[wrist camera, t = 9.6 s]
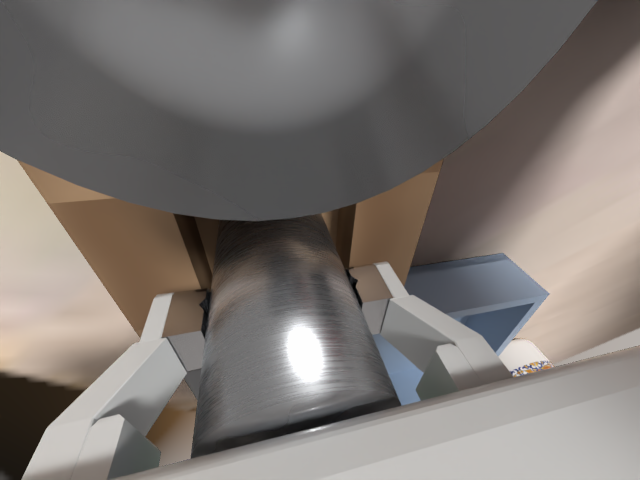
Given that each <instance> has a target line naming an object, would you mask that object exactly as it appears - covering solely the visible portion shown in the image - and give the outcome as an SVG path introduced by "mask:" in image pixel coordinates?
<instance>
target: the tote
mask: <svg viewBox="0 0 640 480" xmlns="http://www.w3.org/2000/svg"><path fill="white" fill-rule="evenodd" d="M404 288H405V289H406V291H407V293H408V294H409V295H414V296H416V297H418V298H419V299H421V300H423V301H424V302H426V303H428V304H429V305H431V306H433V307H435V308H436V309H438V310H440V311H441V312H443V313H445V314H446V315H448V316H450V317H451V318H453V319H455V320H456V321H458V322H460V323H461V324H463V325H465V326H467V327H468V328H470V329H472V330H473V331H475V332H477V333H478V334H480V335H482V336H483V338H484V339H485V340H486V342H487V343H488V344H489V345H490V347H491V348H492V349H493V351H494V352H495V353H496V355H497V356H499V355H500V354H501V353H502V352H503V350H504V349H505V348H506V347H507V345H508V344H509V343H510V342H511V340H512V339H513V338H514V337H515V336H516V334H517V333H518V332H519V331H520V329H521V328H522V327H523V326H524V325H525V323H526V322H527V321H528V320H529V318H530V317H531V316H532V315H533V314H534V312H535V311H536V310H537V309H538V307H539V306H540V305H541V304H542V303H543V301H544V300H545V299H546V298H547V296H548V295H549V293H548V292H547V291H546V290H545V289H543V288H542V287H541V286H540V285H539V284H538V283H537V282H535V281H534V280H533V279H532V278H531V277H530V276H529V275H527V274H526V273H525V272H524V271H523V270H522V269H521V268H519V267H518V266H517V265H516V264H515V263H514V262H513V261H511V260H510V259H509V258H508V257H507V256H506V255H505V254H503V253H501V254H494V255H488V256H481V257H475V258H468V259H461V260H455V261H448V262H441V263H435V264H428V265H421V266H415V267H410V269H409V272H408V275H407V279H406V282H405V285H404ZM380 334H381V333H379V334H374V335H372V336H373V338H374V341H375V343H376V345H377V348H378V350H379V353H380V355H381V357H382V360H383V362H384V365H385V367H386V369H387V372H388V374H389V376H390V379H391V381H392V384H393V386H394V388H395V391H396V393H397V396H398V398H399V400H400V403H401V406H402V405H406V404H410V403H414V402H418V401H420V398H419V396H418V394H417V392H416V387H417V385H418V383H419V381H420V379H421V377H422V375H423V372H422V371H421V370H420V369H418V368H417V367H416V366H415V365H414V364H413V363H412V362H411V361H409V360H408V359H407V358H406V357H405V356H404V355H403V354H402V353H400V352H399V351H398V350H397V349H396V348H395V347H394V346H393V345H391V344H390V343H389V342H388V341H387V340H386V339H385V338H384V337H382V336H381V335H380Z"/></svg>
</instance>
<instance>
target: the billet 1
mask: <svg viewBox="0 0 640 480" xmlns="http://www.w3.org/2000/svg"><path fill="white" fill-rule="evenodd" d="M597 1H598V0H0V151H1V152H3V153H5V154H7V155H9V156H11V157H13V158H15V159H17V160H19V161H21V162H24V163H26V164H28V165H31V166H33V167H35V168H38V169H40V170H42V171H45V172H47V173H49V174H52V175H54V176H57V177H59V178H61V179H64V180H66V181H68V182H71V183H73V184H75V185H78V186H81V187H84V188H87V189H90V190H93V191H96V192H99V193H102V194H105V195H108V196H111V197H114V198H117V199H120V200H123V201H126V202H129V203H133V204H137V205H141V206H145V207H149V208H154V209H158V210H162V211H166V212H170V213H174V214H181V215H188V216H195V217H202V218H209V219H217V220H242V221H263V220H278V219H292V218H297V217H303V216H308V215H314V214H320V213H325V212H329V211H332V210H336V209H339V208H342V207H346V206H349V205H353V204H356V203H359V202H362V201H364V200H366V199H369V198H371V197H374V196H376V195H378V194H381V193H383V192H386V191H388V190H391V189H392V188H394V187H396V186H398V185H400V184H402V183H404V182H405V181H407V180H409V179H411V178H413V177H415V176H417V175H418V174H420V173H422V172H424V171H425V170H427V169H428V168H430V167H431V166H433V165H434V164H436V163H437V162H439V161H440V160H442V159H443V158H445V157H446V156H448V155H449V154H451V153H452V152H454V151H455V150H456V149H457V148H459V147H460V146H461V145H462V144H464V143H465V142H466V141H467V140H469V139H470V138H471V137H472V136H473V135H475V134H476V133H477V132H478V131H480V130H481V129H482V128H483V127H485V126H486V125H487V124H488V123H489V122H490V121H491V120H492V119H493V118H494V117H496V116H497V115H498V114H499V113H500V112H501V111H502V110H503V109H504V108H505V107H506V106H507V105H508V104H509V103H510V102H511V101H512V100H513V99H514V98H515V97H516V96H517V95H519V94H520V93H521V92H522V91H523V90H524V88H525V87H526V86H527V85H528V84H529V83H530V82H531V81H532V79H533V78H534V77H535V76H536V75H537V74H538V73H539V72H540V71H541V69H542V68H543V67H544V66H545V65H546V64H547V63H548V62H549V61H550V59H551V58H552V57H553V56H554V55H555V54H556V53H557V52H558V51H559V49H560V48H561V47H562V45H563V44H564V43H565V42H566V40H567V39H568V38H569V37H570V35H571V34H572V33H573V31H574V30H575V29H576V28H577V26H578V25H579V24H580V22H581V21H582V20H583V19H584V17H585V16H586V15H587V14H588V12H589V11H590V10H591V8H592V7H593V6H594V5H595V3H596V2H597Z"/></svg>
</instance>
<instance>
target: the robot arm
mask: <svg viewBox="0 0 640 480" xmlns="http://www.w3.org/2000/svg"><path fill="white" fill-rule="evenodd" d="M345 271H346V274H347V276H348V278H349V281H350V283H351V286H352V288H353V290H354V293H355V295H356V298H357V300H358V302H359V305H360V307H361V310H362V312H363V314H364V317H365V319H366V321H367V324H368V326H369V329H370V331H371V333H372V335H374V334H379V333H381V334H380V335H381V336H382V337H384V338H385V339H386V340H387V341H388V342H389V343H390V344H391V345H393V346H394V347H395V348H396V349H397V350H398V351H399V352H400V353H402V354H403V355H404V356H405V357H406V358H407V359H408V360H409V361H411V362H412V363H413V364H414V365H415V366H416V367H417V368H418V369H420V370H421V371H422V372H423V375H422V377H421V379H420V381H419V383H418V385H417V387H416V392H417V394H418V396H419V398H420V401H418V402H414V403H410V404H406V405H402V406H398V407H394V408H390V409H386V410H382V411H378V412H374V413H370V414H366V415H362V416H359V417H355V418H351V419H347V420H343V421H339V422H335V423H331V424H327V425H323V426H319V427H315V428H311V429H307V430H303V431H299V432H295V433H291V434H287V435H283V436H279V437H275V438H272V439H268V440H264V441H260V442H256V443H252V444H248V445H244V446H240V447H236V448H232V449H228V450H224V451H220V452H216V453H212V454H208V455H204V456H200V457H196V458H192V459H189V460H185V461H181V462H177V463H173V464H169V465H165V466H161V467H158V466H159V461H160V455H161V452H160V450H159V449H158V448H157V447H156V446H155V445H154V444H153V443H152V442H150V441H149V440H148V439H147V438H146V437H145V436H146V435H147V433H148V431H149V430H150V429H151V427H152V425H153V424H154V422H155V421H156V419H157V418H158V416H159V415H160V413H161V412H162V410H163V409H164V407H165V406H166V404H167V403H168V401H169V400H170V398H171V397H172V395H173V394H174V392H175V391H176V389H177V388H178V386H179V384H180V383H181V381H182V380H183V378H184V377H185V375H186V374H187V371H191V370H195V369H200V368H202V360H203V352H204V343H205V335H206V327H207V318H208V310H209V302H210V293H211V290H210V289H209V288H205V289H196V290H188V291H180V292H175V293H166V294H158V295H156V297H155V298H154V299H153V302H152V305H151V308H150V311H149V314H148V317H147V320H146V323H145V326H144V329H143V332H142V335H141V338H140V341H139V342H138V343H133V344H132V345H131V346H130V347H129V348H128V349H127V350H126V351H125V352H124V353H123V354H122V355H121V356H120V357H119V358H118V359H117V360H116V361H115V362H114V363H113V364H112V365H111V366H110V367H109V368H108V369H107V370H106V371H105V372H104V373H103V374H102V375H101V376H100V377H99V378H98V379H96V380H95V381H94V382H93V383H92V384H91V385H90V386H89V387H88V388H87V389H86V390H85V391H84V392H83V393H82V394H81V395H80V396H79V397H78V398H77V399H76V400H75V401H74V402H73V403H72V404H71V405H70V406H69V407H68V408H67V409H66V410H65V411H64V412H63V413H62V414H61V415H60V416H59V417H58V418H57V419H56V420H55V421H54V422H52V423H51V424H50V425H49V426H48V427H47V429H46V431H45V433H44V435H43V437H42V439H41V441H40V443H39V445H38V447H37V449H36V451H35V453H34V455H33V457H32V459H31V461H30V463H29V465H28V467H27V469H26V472H25V473H24V475H23V478H22V479H21V480H640V345H639V346H635V347H632V348H628V349H624V350H620V351H616V352H612V353H608V354H604V355H600V356H596V357H592V358H588V359H584V360H580V361H576V362H572V363H568V364H564V365H560V366H556V367H552V368H548V369H544V370H540V371H537V372H533V373H529V374H525V375H521V376H517V377H513V375H512V374H511V373H510V371H509V370H508V369H507V367H506V366H505V365H504V364H503V362H502V361H501V360H500V358H499V357H498V356H497V355H496V353H495V352H494V351H493V349H492V348H491V347H490V345H489V344H488V343H487V342H486V340H485V339H484V338H483V336H482V335H480V334H478V333H477V332H475V331H473V330H472V329H470V328H468V327H467V326H465V325H463V324H461V323H460V322H458V321H456V320H455V319H453V318H451V317H450V316H448V315H446V314H445V313H443V312H441V311H440V310H438V309H436V308H435V307H433V306H431V305H429V304H428V303H426V302H424V301H423V300H421V299H419V298H418V297H416V296H414V295H409V294H408V293H407V291H406V289H405V288H404V286H403V285H402V283H401V282H400V280H399V278H398V277H397V275H396V274H395V272H394V270H393V269H392V267H391V266H390V264H389V263H388V262H379V263H373V264H367V265H360V266H354V267H347V268H345Z"/></svg>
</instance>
